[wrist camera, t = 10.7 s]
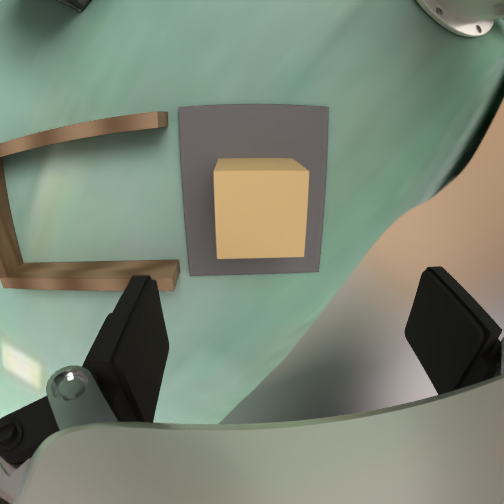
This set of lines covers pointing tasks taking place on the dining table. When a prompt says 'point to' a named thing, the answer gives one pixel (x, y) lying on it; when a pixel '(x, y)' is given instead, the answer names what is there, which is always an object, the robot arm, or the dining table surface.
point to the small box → (76, 4)
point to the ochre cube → (260, 207)
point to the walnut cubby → (76, 273)
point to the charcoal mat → (249, 146)
